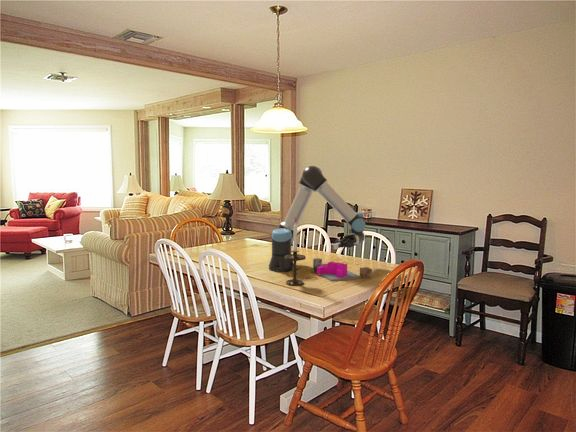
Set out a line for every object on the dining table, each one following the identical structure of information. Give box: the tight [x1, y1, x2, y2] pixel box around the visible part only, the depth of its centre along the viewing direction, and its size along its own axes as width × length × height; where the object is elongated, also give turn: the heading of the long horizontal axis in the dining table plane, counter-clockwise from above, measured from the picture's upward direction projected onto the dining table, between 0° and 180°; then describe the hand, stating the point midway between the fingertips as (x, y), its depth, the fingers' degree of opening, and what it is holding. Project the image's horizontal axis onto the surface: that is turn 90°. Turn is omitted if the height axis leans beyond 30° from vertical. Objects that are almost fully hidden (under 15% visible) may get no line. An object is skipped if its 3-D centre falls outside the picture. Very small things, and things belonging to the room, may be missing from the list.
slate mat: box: [318, 269, 362, 282], centre depth 234 cm, size 18×18×1 cm
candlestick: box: [285, 218, 306, 287], centre depth 215 cm, size 11×11×35 cm
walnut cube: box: [359, 266, 373, 280], centre depth 231 cm, size 5×5×5 cm
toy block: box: [316, 261, 348, 278], centre depth 232 cm, size 15×6×8 cm
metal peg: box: [312, 257, 323, 273], centre depth 244 cm, size 5×5×7 cm
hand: (334, 246), depth 227 cm, fingers closed
